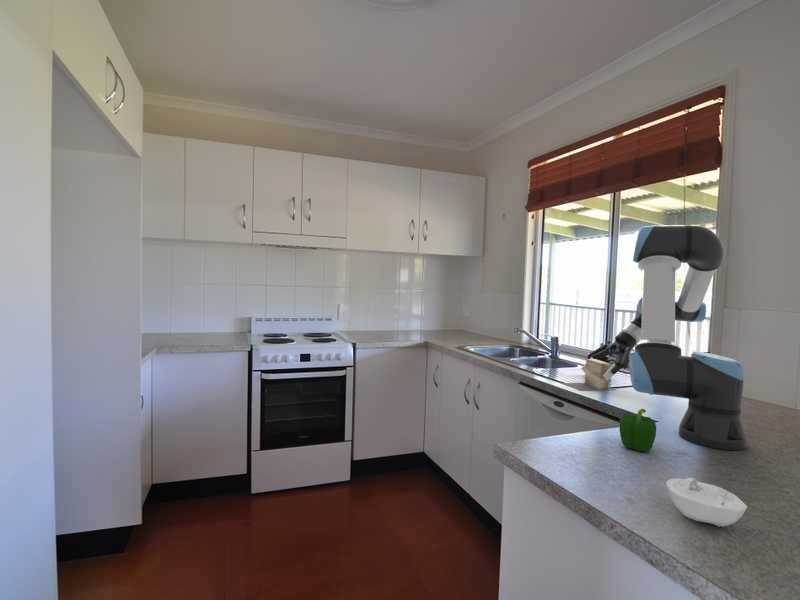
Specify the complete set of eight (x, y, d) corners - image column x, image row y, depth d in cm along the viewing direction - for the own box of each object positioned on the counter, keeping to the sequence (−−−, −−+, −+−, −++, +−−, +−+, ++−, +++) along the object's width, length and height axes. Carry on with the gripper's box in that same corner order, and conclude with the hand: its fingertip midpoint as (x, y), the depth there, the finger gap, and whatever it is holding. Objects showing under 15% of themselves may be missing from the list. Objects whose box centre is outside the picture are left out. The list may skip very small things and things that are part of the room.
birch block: (593, 383, 178) (594, 359, 178) (608, 388, 169) (609, 363, 169) (584, 383, 177) (586, 359, 177) (599, 389, 169) (600, 363, 168)
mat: (596, 383, 180) (596, 382, 180) (616, 391, 168) (616, 390, 168) (561, 384, 177) (561, 383, 177) (579, 392, 165) (579, 390, 165)
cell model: (732, 546, 70) (735, 505, 70) (653, 512, 80) (656, 476, 80) (753, 527, 76) (756, 489, 76) (677, 497, 86) (680, 464, 85)
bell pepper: (636, 456, 105) (639, 416, 105) (611, 443, 113) (613, 405, 113) (664, 453, 108) (666, 414, 107) (637, 441, 116) (640, 404, 115)
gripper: (658, 349, 164) (621, 389, 162) (613, 339, 188) (580, 373, 186) (647, 334, 162) (609, 375, 160) (603, 326, 187) (570, 361, 185)
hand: (593, 374), depth 173 cm, fingers open, 13 cm apart
